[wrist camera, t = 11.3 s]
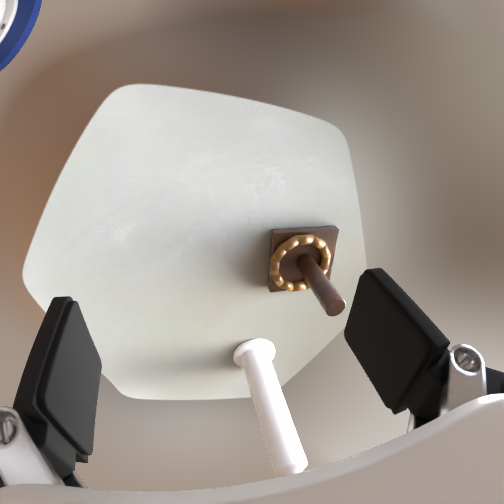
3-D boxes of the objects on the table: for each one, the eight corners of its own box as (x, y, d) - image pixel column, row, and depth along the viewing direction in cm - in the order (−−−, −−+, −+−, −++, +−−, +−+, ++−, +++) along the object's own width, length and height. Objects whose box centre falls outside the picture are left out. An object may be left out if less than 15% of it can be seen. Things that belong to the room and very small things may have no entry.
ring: (270, 235, 37) (273, 239, 36) (332, 231, 39) (335, 235, 38) (267, 290, 41) (269, 296, 40) (322, 283, 43) (326, 288, 42)
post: (271, 229, 38) (303, 278, 28) (335, 225, 40) (379, 269, 30) (267, 287, 42) (292, 343, 33) (325, 280, 44) (360, 330, 35)
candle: (229, 366, 49) (264, 501, 28) (237, 338, 46) (279, 487, 25) (268, 365, 51) (313, 491, 30) (278, 338, 48) (335, 474, 27)
